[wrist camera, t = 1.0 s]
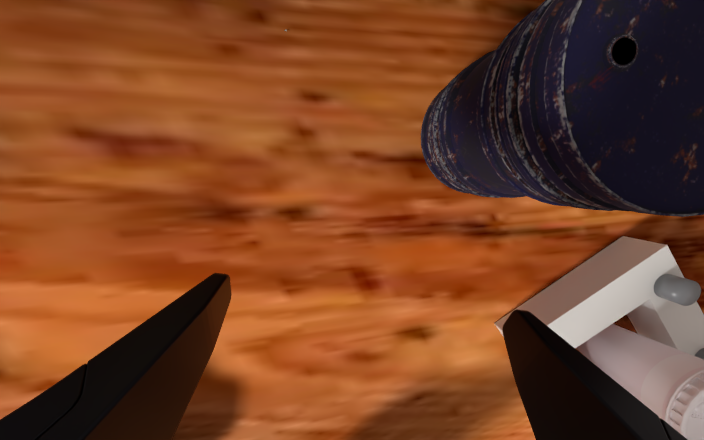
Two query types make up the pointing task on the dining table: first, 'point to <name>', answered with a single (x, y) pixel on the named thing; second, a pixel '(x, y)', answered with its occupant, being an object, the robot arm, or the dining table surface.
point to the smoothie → (653, 376)
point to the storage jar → (581, 110)
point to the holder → (624, 297)
